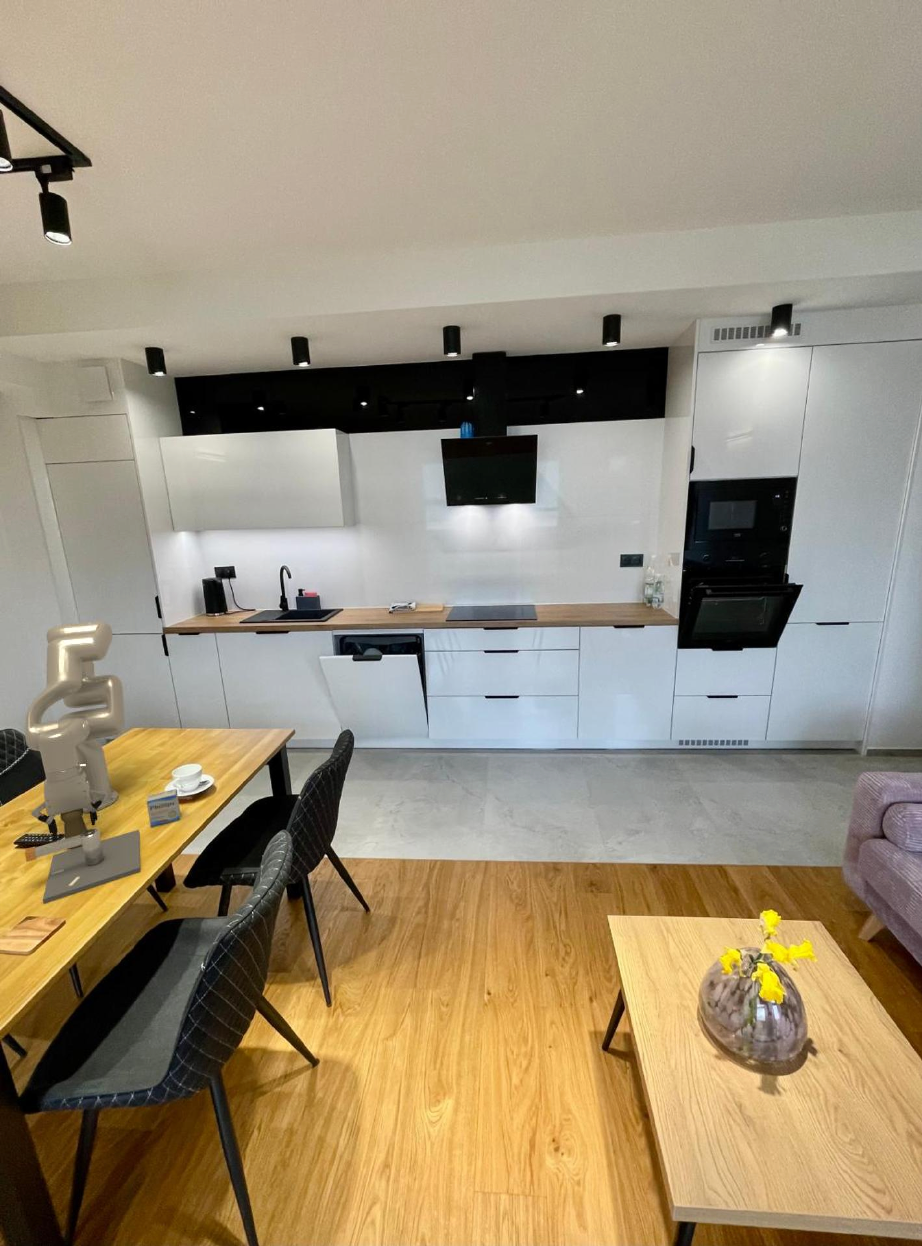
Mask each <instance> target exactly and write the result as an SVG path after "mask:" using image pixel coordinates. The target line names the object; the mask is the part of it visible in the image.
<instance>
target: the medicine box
mask: <svg viewBox="0 0 922 1246" xmlns="http://www.w3.org/2000/svg"><path fill="white" fill-rule="evenodd" d="M146 807H147V813H148V818H149V824H150V828H155V827H159V826H163V825H167V824H169V823H170V824H171V823H173V822H178V821H180V820H181V810H180V802H179V796H178V790H177V788H174V789H170V790H167V791H162V792H157V793H154V794H150V795H147V796H146Z"/></svg>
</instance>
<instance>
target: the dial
mask: <svg viewBox="0 0 922 1246" xmlns="http://www.w3.org/2000/svg"><path fill="white" fill-rule="evenodd" d="M101 841H102V839H101V834H100V830H99V829H98V828H90V829H87V831H85V832H84V833H82V834H81V835H78V836H74V837H71V838H67V839H65V838H64V839H60V840H58V841H54V842H53V841H52V842H50V843H47V844H44V845H43V844H42V845H40V846H33V847H32V846H31V847H28V848H25V851H24V856H25V857H24V858H25V861H26V863H29V862H32V861H34V860H37V859H38V858H41V857H44V856H47V855H51V854H54V853H55V854H56V853H57V852H58V853H59V852H61V851H64V850H65V851H66V850H69V849H68V848H71V847H75V846H78V845H82V847H83V851H84V856H85V861H86V864H87V865H94V864H97V863H99V862H101V861H102V860H103V859H104V853H103V848H102V843H101Z"/></svg>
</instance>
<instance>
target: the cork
mask: <svg viewBox="0 0 922 1246" xmlns="http://www.w3.org/2000/svg"><path fill="white" fill-rule="evenodd" d="M83 815H84V813H83V808H81V809H78V810H74V811H70V812H67V813H63V814H59V817H60V820H61V821H62V822H63V825H64V827H63V829H64V839H67V838H71V837H74V836H78V835H81V834H82V833H84V832H85V831H87V830H88V828H87V825H86V823H85V820H84V818H83ZM78 847H82V845H78V846H75V847H71V848H68V849H67V850H71V849H75V848H78Z"/></svg>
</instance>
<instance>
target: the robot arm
mask: <svg viewBox="0 0 922 1246" xmlns="http://www.w3.org/2000/svg"><path fill="white" fill-rule="evenodd" d="M112 639H113V630H112V628H111V625H110V624H109V623H107V622H105V621H100V620H98V621H89V622H79V623H69V624H67V623H66V624H61V625H56V626H53V627H51V628H50V629H47V632H46V641H47V643H48V645H47V647H46V686H45V688H44V690H42V691H41V692H40V693H39V694H38V695H37V696H36V698H35V699H34V700H33V701H32V703H31V704H30V706H29V708H28V710H27V713H26V715H25V727H24V728H25V731H24V733H25V735H24V736H25V743H26V746H27V747H28V748H29V749H30V750H33V751H36V752H37V751H40V756H41V761H42V765H43V770H44V773H45V779H44V782H43V795H44V801H43V802H41V804H39V805H38V806H37V807H35V808H34V809H33V810H32V811H31V812H30V813H31V814H30V815H31V816H32V817H34V819H37V820H38V822H42V823H44V824H45V825H47V827H48V832H49V834H52V836H53V837H56V836H57V835H58V832H59V830H58V826H57V821H56V819H55V817H56V816H58V815H59V816H60V815H61V814H63V813H67V812H70V811H74V810H78V809H81V808H83V814H88V813H89V820H90V822H91V823H90V825H91V826H96V821H98V813H97V811H100V810H102V809H105V808H107V807H109V806H110V805H112V804H113V803H114V802H116V801H117V799H118V798H119V793H118V791H116V790H113V789H112V788H111V781H110V776H109V772H108V766H107V762H106V761H107V760H106V756H105V750H104V748H103V747H102V745H101V744H100V743H99V742H98V741H96V740H97V739H103V738H108V737H109V738H110V737H114V736H118V735H120V734H122V733H123V731H124V730H125V724H126V723H125V722H126V721H125V718H126V717H125V704H124V702H125V701H124V691H123V690H124V689H123V684H122V681H121V679H120V678H119V677H118V676H116V675H114V674H104V675H103V674H102V675H95V673H96V672H95V664H94V662H98V661H101V660H103V659H105V657H106V656H107V654H108V651H109V650H110V646H111V644H112ZM61 700H62V701H63V704H64V706H65V707H67V708H69V709H80V708H89V707H94V706H95V707H96V706H102V705H105V706H104V707H100V708H98V707H97V708H91V709H83V710H78V711H77V710H76V711H73V712H68V713H66V714H64V715H62V716H61V717H59V719H58V720H55V721H53V720H52V721H49V722H42V718H43V716H44V714H45V713H46V711H47V710H49V708H50V707H51V706H53V705H54V704H56V703H57V702H60V701H61ZM44 809H45V811H46V814H45V813H42V811H43V810H44Z"/></svg>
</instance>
